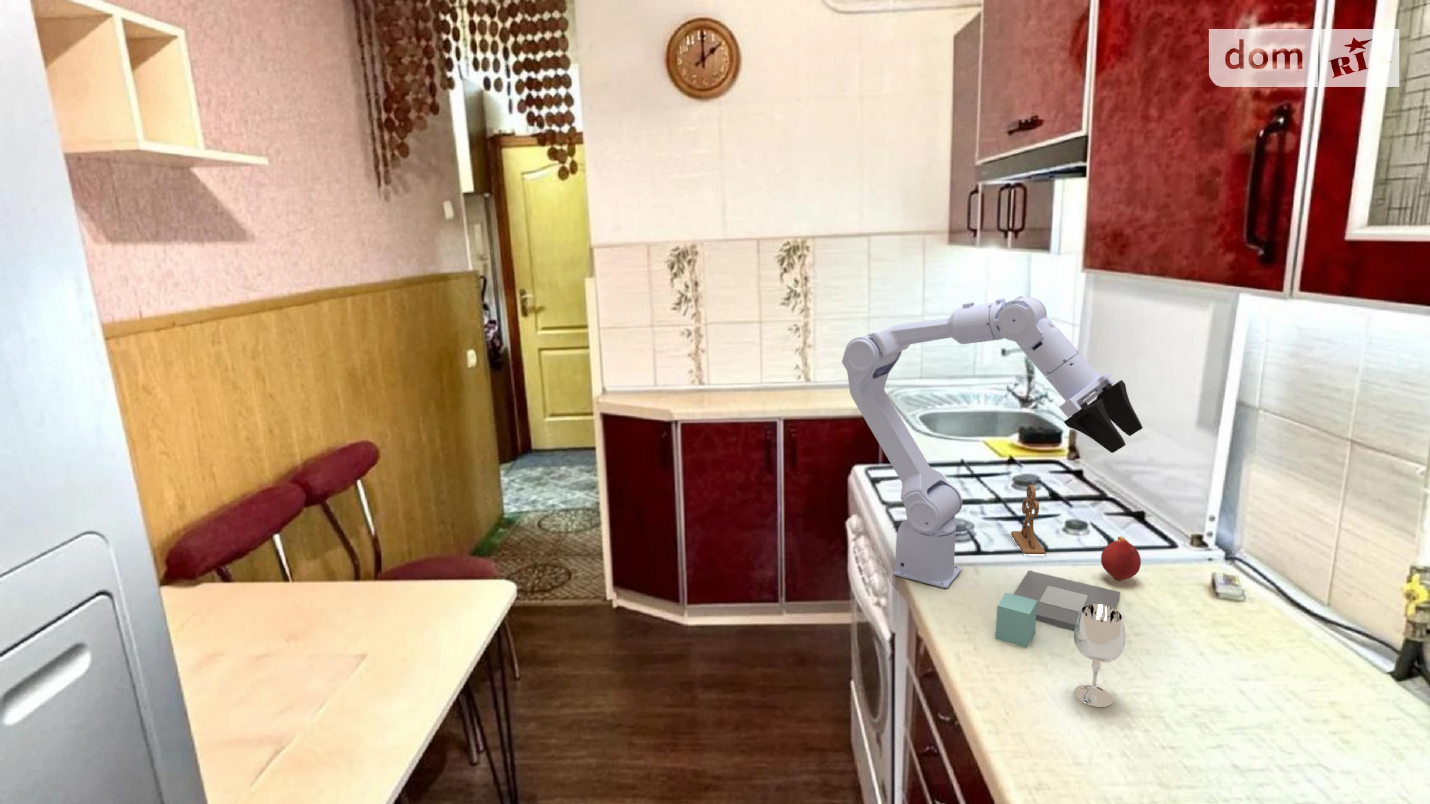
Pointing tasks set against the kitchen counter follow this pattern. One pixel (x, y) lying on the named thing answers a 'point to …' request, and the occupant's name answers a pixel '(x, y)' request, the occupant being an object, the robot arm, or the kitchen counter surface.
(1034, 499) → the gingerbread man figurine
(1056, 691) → the kitchen counter surface
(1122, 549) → the onion
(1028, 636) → the block
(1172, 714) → the kitchen counter surface
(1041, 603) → the tile
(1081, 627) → the wineglass
